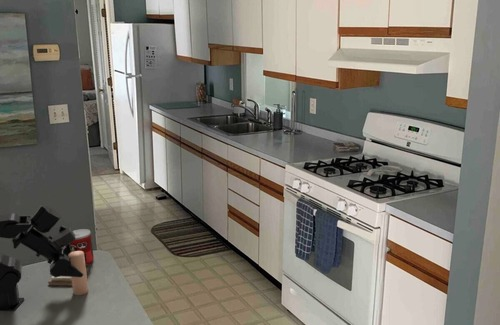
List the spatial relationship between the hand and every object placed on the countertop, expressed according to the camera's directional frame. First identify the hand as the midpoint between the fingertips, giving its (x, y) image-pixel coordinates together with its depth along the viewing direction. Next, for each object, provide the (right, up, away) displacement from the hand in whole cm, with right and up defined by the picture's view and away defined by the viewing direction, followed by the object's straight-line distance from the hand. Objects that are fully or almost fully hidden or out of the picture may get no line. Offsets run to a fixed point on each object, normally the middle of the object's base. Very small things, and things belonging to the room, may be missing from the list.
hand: (81, 269), depth 162 cm
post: (-1, -7, +2) cm, 8 cm away
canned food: (-7, -2, +22) cm, 23 cm away
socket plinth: (-8, -5, +10) cm, 14 cm away
